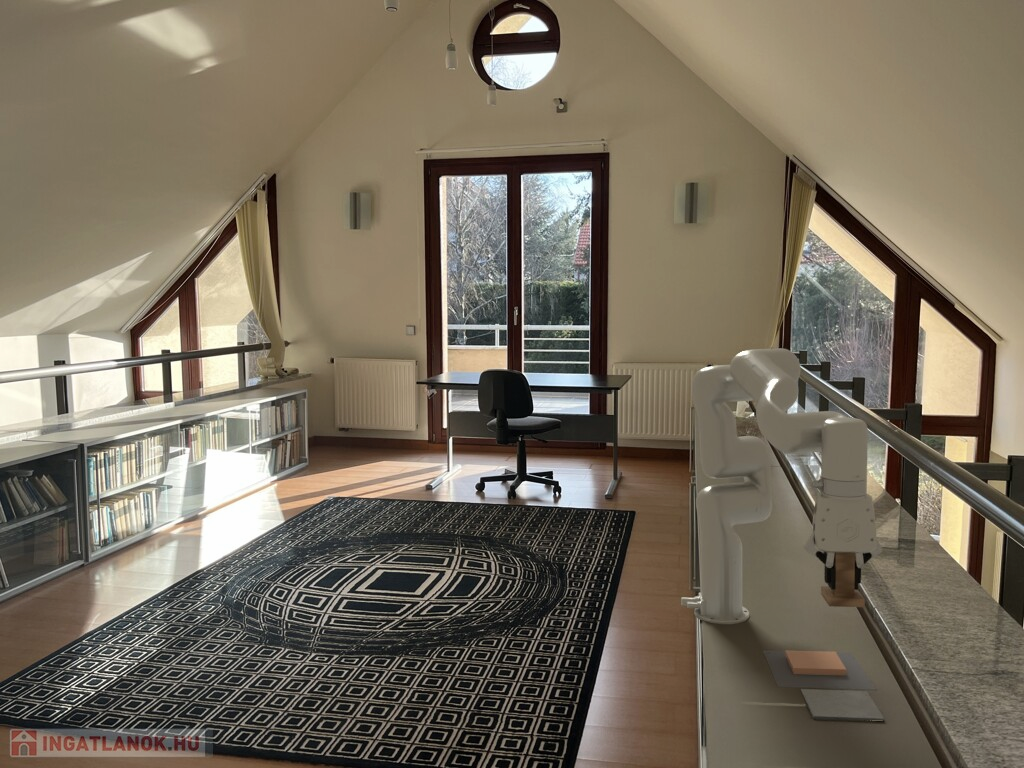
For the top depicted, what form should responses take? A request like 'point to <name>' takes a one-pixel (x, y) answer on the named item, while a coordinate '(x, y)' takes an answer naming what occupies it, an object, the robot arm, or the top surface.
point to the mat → (786, 678)
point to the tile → (815, 663)
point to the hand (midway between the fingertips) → (842, 586)
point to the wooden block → (843, 584)
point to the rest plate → (841, 705)
